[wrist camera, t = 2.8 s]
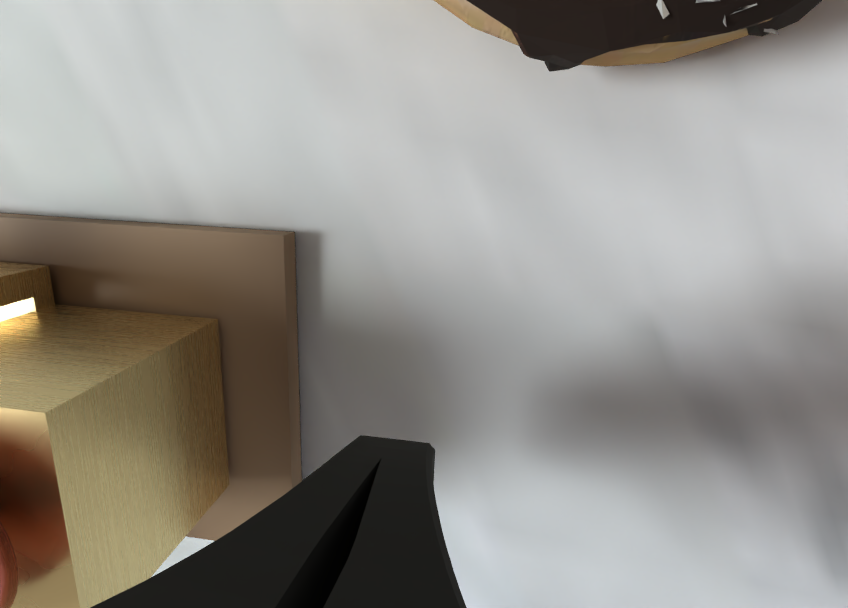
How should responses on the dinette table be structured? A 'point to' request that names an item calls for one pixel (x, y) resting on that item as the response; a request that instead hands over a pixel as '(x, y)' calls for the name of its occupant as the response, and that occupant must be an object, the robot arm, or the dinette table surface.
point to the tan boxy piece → (100, 442)
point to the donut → (623, 26)
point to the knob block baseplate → (206, 298)
